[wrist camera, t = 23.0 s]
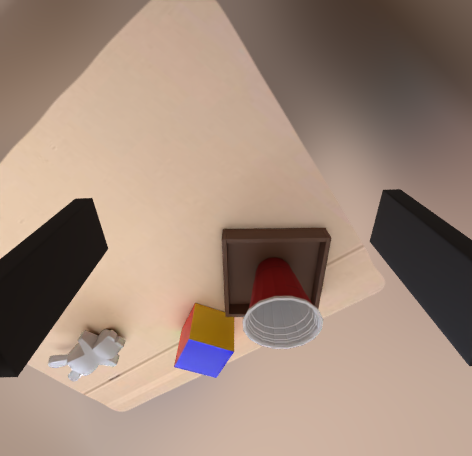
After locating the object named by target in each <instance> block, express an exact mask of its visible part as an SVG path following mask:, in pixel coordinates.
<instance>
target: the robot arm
mask: <svg viewBox="0 0 472 456" xmlns="http://www.w3.org/2000/svg"><path fill="white" fill-rule="evenodd" d="M370 242H371V244H372V245H373V246H374V247H375V249H376V250H377V251H378V252H379V254H380V255H381V256H382V257H383V259H384V260H385V261H386V262H387V264H388V265H389V266H390V267H391V269H392V270H393V271H394V272H395V274H396V275H397V276H398V277H399V279H400V280H401V281H402V282H403V284H404V285H405V286H406V287H407V289H408V290H409V291H410V292H411V294H412V295H413V296H414V297H415V299H416V300H417V301H418V303H419V304H420V305H421V306H422V307H423V309H424V310H425V311H426V312H427V314H428V315H429V316H430V317H431V319H432V320H433V321H434V323H435V324H436V325H437V326H438V328H439V329H440V330H441V331H442V332H443V334H444V335H445V336H446V337H447V339H448V340H449V341H450V342H451V344H452V345H453V346H454V347H455V349H456V350H457V351H458V353H459V354H460V355H461V356H462V358H463V359H464V360H465V361H466V363H467V364H468V365H469V366H472V240H471V239H469V238H468V237H467V236H465V235H464V234H462V233H461V232H460V231H458V230H457V229H455V228H454V227H453V226H451V225H450V224H448V223H447V222H445V221H444V220H443V219H441V218H440V217H438V216H437V215H436V214H434V213H433V212H431V211H430V210H429V209H427V208H426V207H424V206H423V205H421V204H420V203H419V202H417V201H416V200H414V199H413V198H412V197H410V196H409V195H407V194H406V193H405V192H403V191H402V190H399V189H397V190H383V192H382V196H381V200H380V204H379V207H378V212H377V215H376V219H375V223H374V227H373V231H372V235H371V238H370ZM107 250H108V246H107V243H106V240H105V237H104V234H103V231H102V227H101V224H100V221H99V218H98V215H97V212H96V208H95V205H94V202H93V199H92V198H83V199H74V200H73V201H72V202H71V203H70V204H68V205H67V206H66V207H65V208H63V209H62V210H61V211H60V212H58V213H57V214H56V215H55V216H53V217H52V218H51V219H50V220H48V221H47V222H46V223H45V224H43V225H42V226H41V227H40V228H38V229H37V230H36V231H35V232H33V233H32V234H31V235H30V236H28V237H27V238H26V239H25V240H24V241H22V242H21V243H20V244H19V245H17V246H16V247H15V248H14V249H12V250H11V251H10V252H9V253H7V254H6V255H5V256H4V257H2V258H1V259H0V377H18V375H19V374H20V372H21V371H22V370H23V368H24V367H25V365H26V364H27V363H28V361H29V360H30V358H31V357H32V356H33V354H34V353H35V351H36V350H37V349H38V347H39V346H40V344H41V343H42V342H43V340H44V339H45V337H46V336H47V334H48V333H49V332H50V330H51V329H52V327H53V326H54V325H55V323H56V322H57V320H58V319H59V317H60V316H61V315H62V313H63V312H64V310H65V309H66V308H67V306H68V305H69V303H70V302H71V301H72V299H73V298H74V296H75V295H76V293H77V292H78V291H79V289H80V288H81V286H82V285H83V284H84V282H85V281H86V279H87V278H88V277H89V275H90V274H91V272H92V271H93V269H94V268H95V267H96V265H97V264H98V262H99V261H100V260H101V258H102V257H103V255H104V254H105V252H106V251H107Z"/></svg>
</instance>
